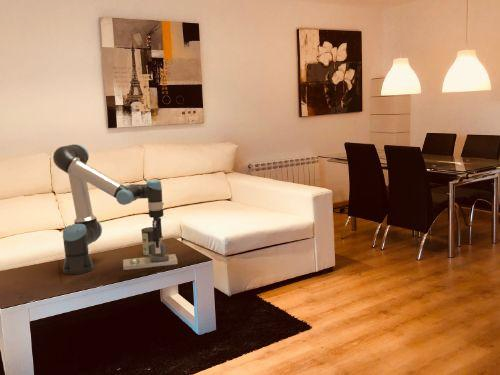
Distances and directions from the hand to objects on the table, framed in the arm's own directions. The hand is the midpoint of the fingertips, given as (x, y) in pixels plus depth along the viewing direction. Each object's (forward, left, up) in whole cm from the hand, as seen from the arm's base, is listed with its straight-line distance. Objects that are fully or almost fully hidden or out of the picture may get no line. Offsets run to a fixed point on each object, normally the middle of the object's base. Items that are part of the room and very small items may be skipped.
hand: (159, 251), depth 273 cm
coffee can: (-3, +20, -6) cm, 21 cm away
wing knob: (0, 0, -4) cm, 4 cm away
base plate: (-5, 0, -6) cm, 8 cm away
